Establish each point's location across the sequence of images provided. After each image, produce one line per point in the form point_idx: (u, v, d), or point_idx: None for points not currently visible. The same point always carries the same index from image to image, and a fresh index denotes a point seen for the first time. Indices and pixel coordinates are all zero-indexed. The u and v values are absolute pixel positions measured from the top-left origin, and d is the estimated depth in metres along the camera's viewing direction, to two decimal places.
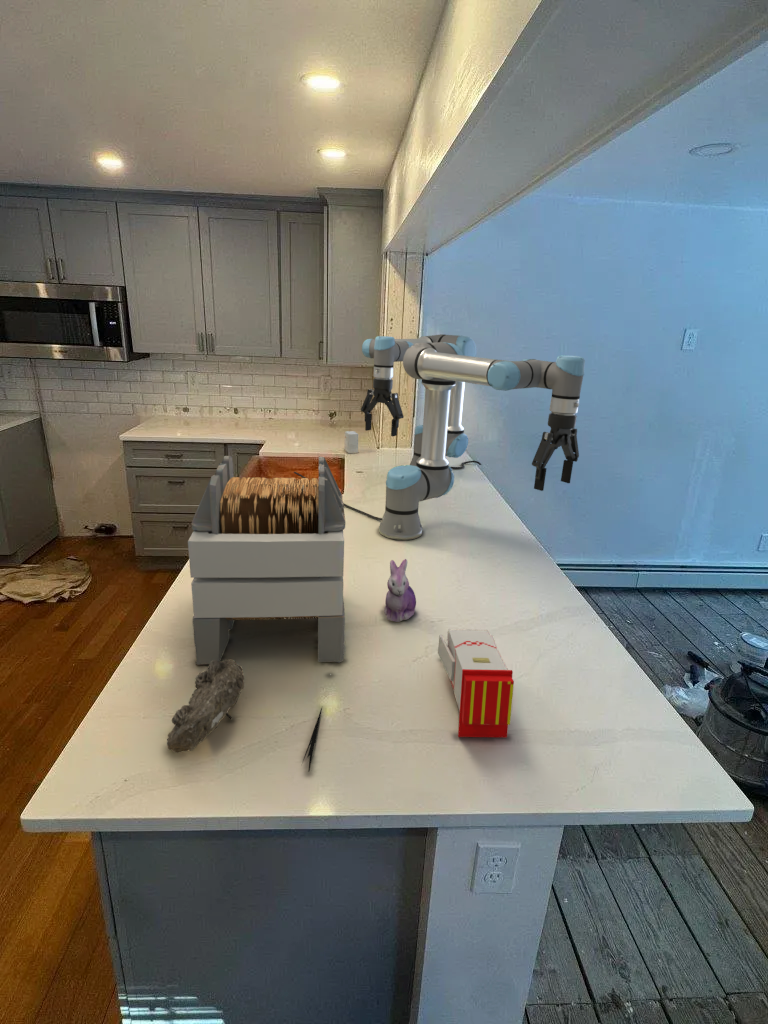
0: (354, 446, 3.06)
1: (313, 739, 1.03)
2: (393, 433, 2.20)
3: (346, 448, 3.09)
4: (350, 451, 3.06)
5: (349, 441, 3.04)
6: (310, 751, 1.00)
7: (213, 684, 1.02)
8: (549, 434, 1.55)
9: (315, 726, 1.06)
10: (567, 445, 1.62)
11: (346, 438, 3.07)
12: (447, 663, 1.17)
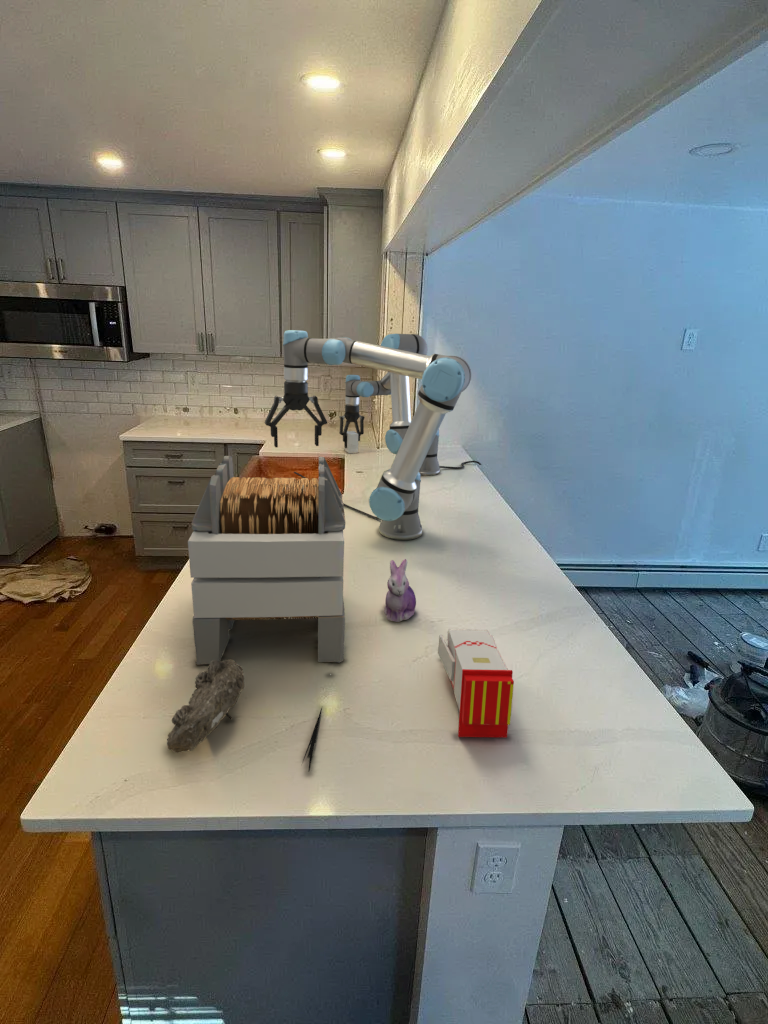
0: (354, 446, 3.06)
1: (313, 739, 1.03)
2: (344, 445, 3.09)
3: (346, 448, 3.09)
4: (350, 451, 3.06)
5: (349, 441, 3.04)
6: (310, 751, 1.00)
7: (213, 684, 1.02)
8: None
9: (315, 726, 1.06)
10: None
11: None
12: (447, 663, 1.17)
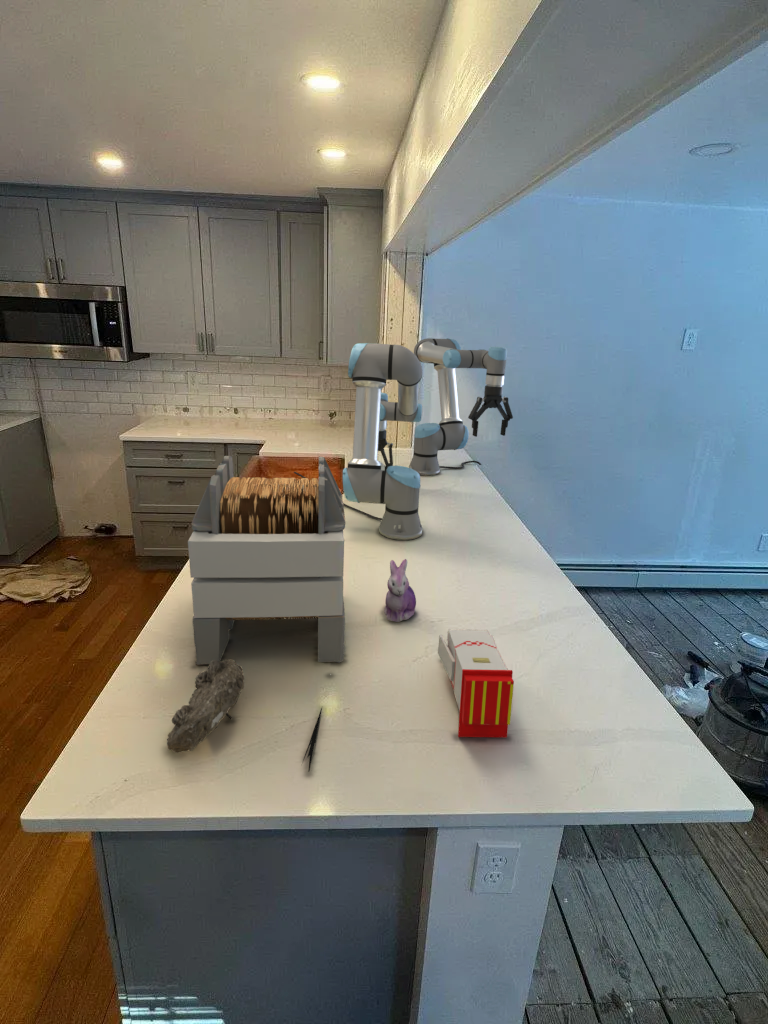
0: None
1: (313, 739, 1.03)
2: (473, 433, 2.42)
3: None
4: None
5: None
6: (310, 751, 1.00)
7: (213, 684, 1.02)
8: (392, 444, 2.46)
9: (315, 726, 1.06)
10: None
11: None
12: (447, 663, 1.17)
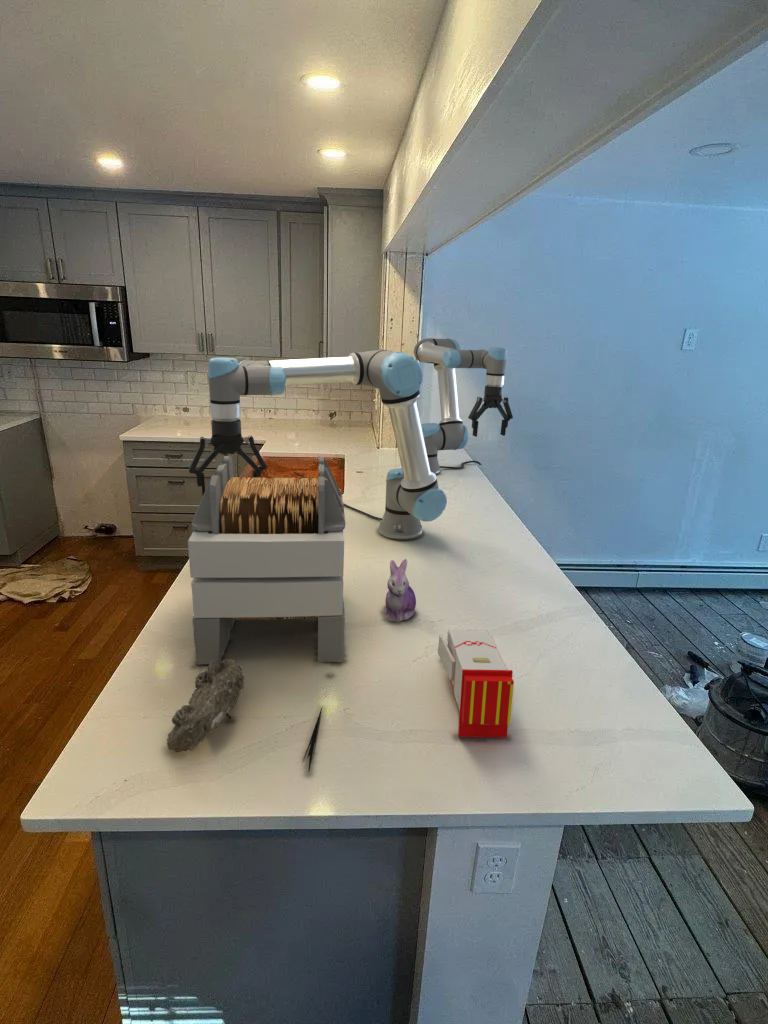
0: None
1: (313, 739, 1.03)
2: (473, 433, 2.42)
3: None
4: None
5: None
6: (310, 751, 1.00)
7: (213, 684, 1.02)
8: None
9: (315, 726, 1.06)
10: None
11: None
12: (447, 663, 1.17)
